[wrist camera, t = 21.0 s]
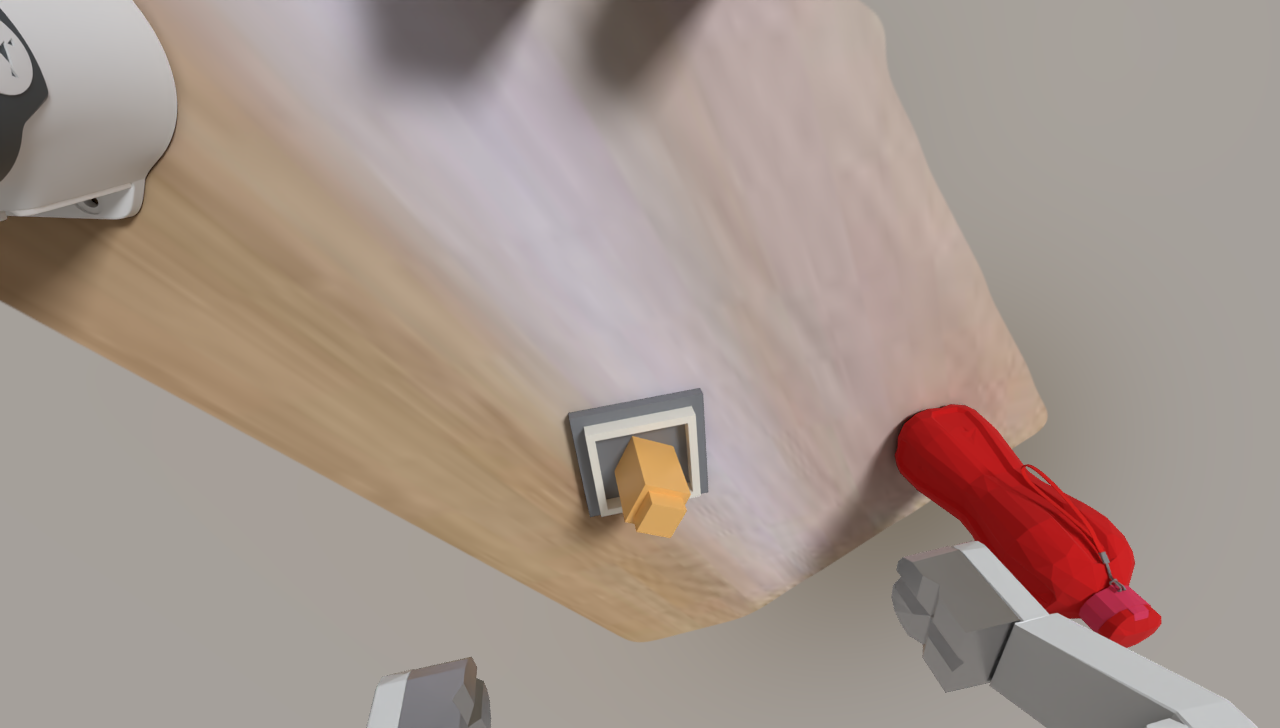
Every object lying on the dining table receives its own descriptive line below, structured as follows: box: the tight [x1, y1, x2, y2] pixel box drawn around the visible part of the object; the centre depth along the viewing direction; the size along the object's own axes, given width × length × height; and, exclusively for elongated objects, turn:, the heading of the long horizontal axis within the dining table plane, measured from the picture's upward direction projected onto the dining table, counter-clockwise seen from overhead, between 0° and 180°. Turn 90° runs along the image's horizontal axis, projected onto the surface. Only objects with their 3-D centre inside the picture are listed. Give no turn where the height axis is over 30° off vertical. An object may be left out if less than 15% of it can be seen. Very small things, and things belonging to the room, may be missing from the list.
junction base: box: [569, 388, 708, 517], centre depth 55 cm, size 13×13×2 cm
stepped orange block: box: [614, 436, 691, 538], centre depth 51 cm, size 5×5×9 cm
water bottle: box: [895, 404, 1161, 648], centre depth 51 cm, size 9×11×25 cm
